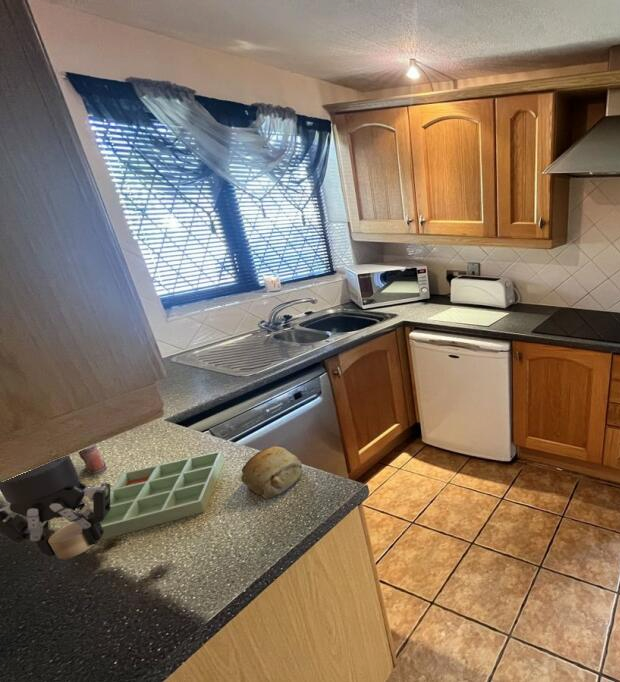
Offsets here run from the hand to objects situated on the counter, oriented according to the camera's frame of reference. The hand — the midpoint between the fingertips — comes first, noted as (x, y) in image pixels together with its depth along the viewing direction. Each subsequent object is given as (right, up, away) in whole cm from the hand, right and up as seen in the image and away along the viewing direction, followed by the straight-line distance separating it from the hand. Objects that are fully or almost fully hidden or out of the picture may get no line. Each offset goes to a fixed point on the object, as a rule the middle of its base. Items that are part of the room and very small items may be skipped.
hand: (75, 545), depth 65 cm
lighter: (-33, +2, +34) cm, 47 cm away
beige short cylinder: (0, 0, 0) cm, 0 cm away
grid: (-6, -1, +23) cm, 24 cm away
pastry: (+17, +1, +28) cm, 33 cm away
